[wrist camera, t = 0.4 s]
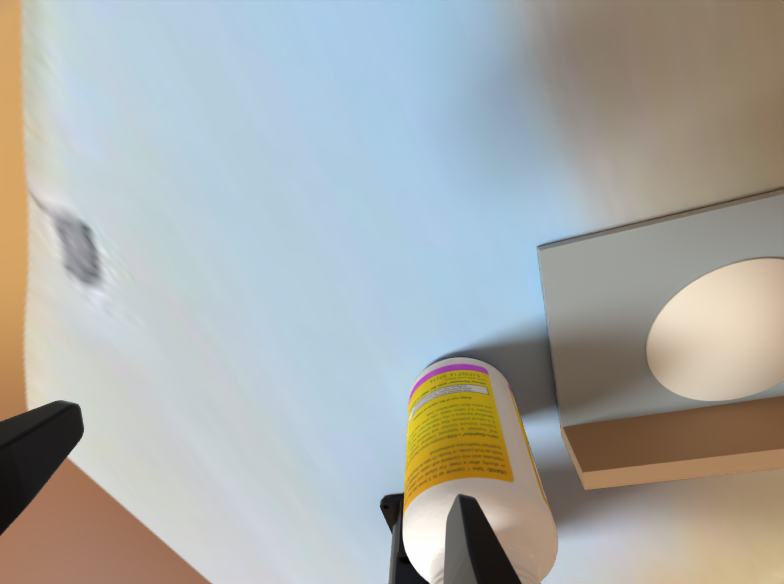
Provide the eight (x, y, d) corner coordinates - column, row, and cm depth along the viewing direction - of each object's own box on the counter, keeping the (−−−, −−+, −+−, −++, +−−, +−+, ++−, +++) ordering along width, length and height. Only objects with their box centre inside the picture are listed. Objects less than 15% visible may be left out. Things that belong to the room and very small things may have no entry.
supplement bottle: (388, 393, 25) (357, 635, 13) (460, 333, 22) (498, 565, 11) (458, 446, 26) (485, 704, 15) (533, 395, 24) (634, 656, 12)
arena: (840, 398, 22) (921, 453, 18) (561, 436, 25) (584, 490, 22) (901, 161, 17) (1034, 173, 13) (536, 247, 20) (561, 275, 16)
